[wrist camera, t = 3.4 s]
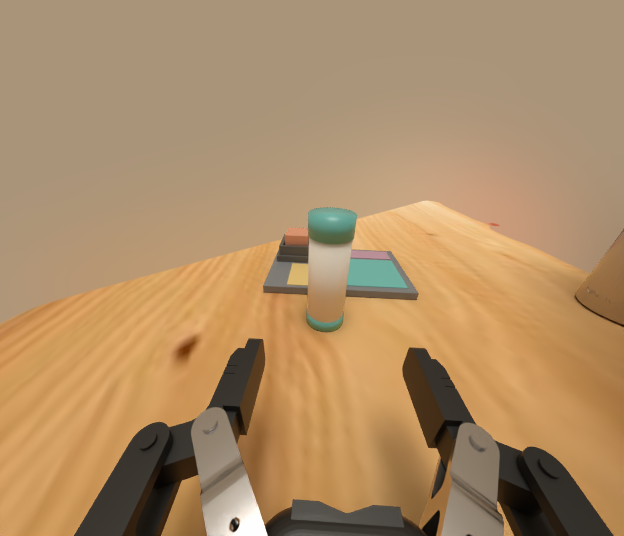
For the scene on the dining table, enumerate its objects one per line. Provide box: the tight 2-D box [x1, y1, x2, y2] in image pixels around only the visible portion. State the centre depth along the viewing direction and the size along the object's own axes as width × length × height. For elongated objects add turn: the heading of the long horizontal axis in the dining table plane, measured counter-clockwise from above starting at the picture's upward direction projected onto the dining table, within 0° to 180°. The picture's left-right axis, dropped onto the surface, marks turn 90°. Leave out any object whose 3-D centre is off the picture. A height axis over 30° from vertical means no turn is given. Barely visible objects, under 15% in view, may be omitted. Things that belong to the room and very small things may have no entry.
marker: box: [307, 208, 357, 332], centre depth 22 cm, size 4×4×12 cm
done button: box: [285, 228, 309, 246], centre depth 36 cm, size 4×4×2 cm
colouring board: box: [263, 235, 419, 300], centre depth 34 cm, size 20×13×4 cm, turn 87°
